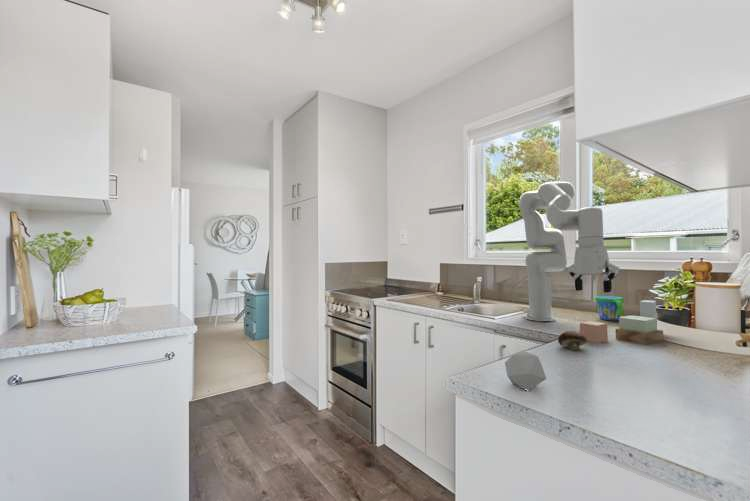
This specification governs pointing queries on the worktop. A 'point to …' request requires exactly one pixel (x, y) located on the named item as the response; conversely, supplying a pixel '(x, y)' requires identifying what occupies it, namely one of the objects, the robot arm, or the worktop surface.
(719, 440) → the worktop surface
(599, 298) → the snack cup
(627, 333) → the bottom slab
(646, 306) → the skincare box
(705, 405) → the worktop surface
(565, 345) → the mushroom
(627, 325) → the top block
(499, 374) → the worktop surface
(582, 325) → the cube
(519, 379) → the die
